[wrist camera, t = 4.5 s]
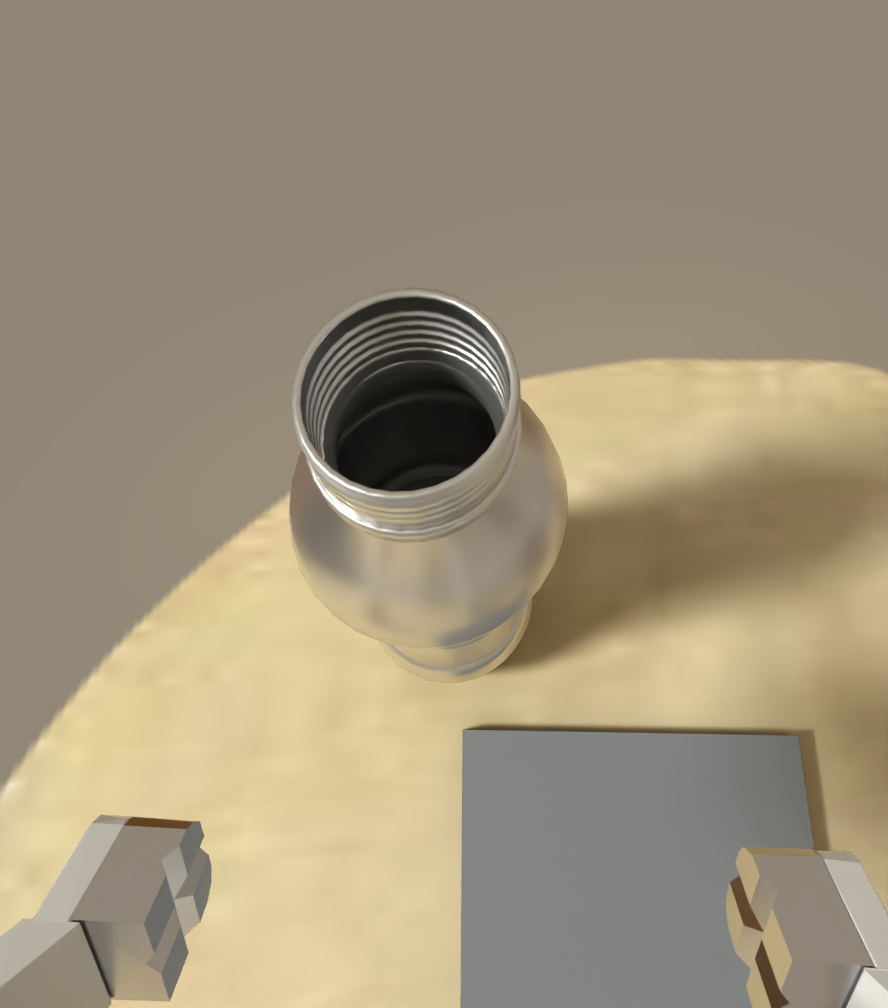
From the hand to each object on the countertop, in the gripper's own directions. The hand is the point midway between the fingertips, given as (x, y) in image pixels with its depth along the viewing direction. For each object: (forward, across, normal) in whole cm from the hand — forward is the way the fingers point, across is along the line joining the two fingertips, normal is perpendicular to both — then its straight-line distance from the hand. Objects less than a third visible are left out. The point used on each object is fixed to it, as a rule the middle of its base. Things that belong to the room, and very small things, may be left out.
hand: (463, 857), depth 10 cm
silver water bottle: (+18, +1, +8) cm, 19 cm away
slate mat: (+9, -6, +16) cm, 19 cm away
